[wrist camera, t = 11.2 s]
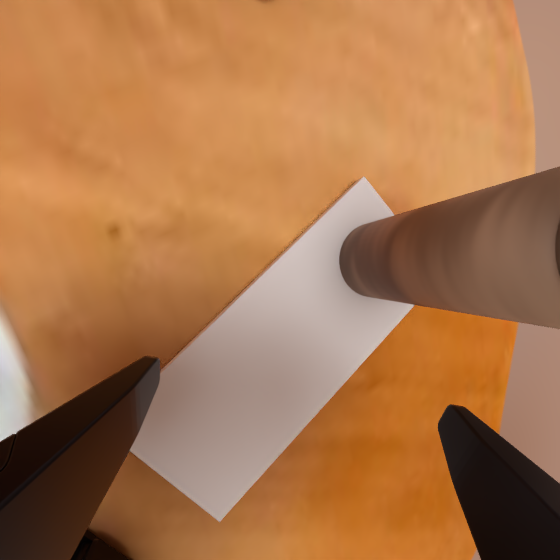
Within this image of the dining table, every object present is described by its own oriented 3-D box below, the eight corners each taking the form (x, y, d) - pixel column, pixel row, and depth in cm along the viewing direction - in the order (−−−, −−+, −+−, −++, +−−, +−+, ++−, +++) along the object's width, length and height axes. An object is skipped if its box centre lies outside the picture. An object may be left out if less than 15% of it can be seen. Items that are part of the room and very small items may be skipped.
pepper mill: (387, 309, 22) (673, 371, 8) (326, 277, 21) (549, 290, 7) (416, 244, 22) (732, 205, 9) (358, 209, 21) (624, 102, 8)
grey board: (218, 507, 21) (219, 522, 20) (109, 420, 19) (102, 429, 18) (430, 274, 24) (441, 275, 23) (356, 181, 22) (364, 176, 21)
